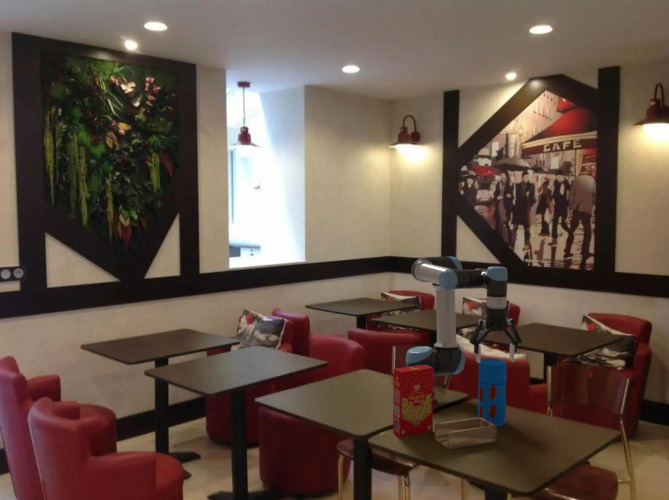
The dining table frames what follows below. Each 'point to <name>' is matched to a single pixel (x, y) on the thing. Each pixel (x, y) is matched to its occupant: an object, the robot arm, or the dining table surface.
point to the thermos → (492, 390)
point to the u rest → (465, 432)
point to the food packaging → (413, 400)
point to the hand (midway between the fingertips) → (495, 361)
